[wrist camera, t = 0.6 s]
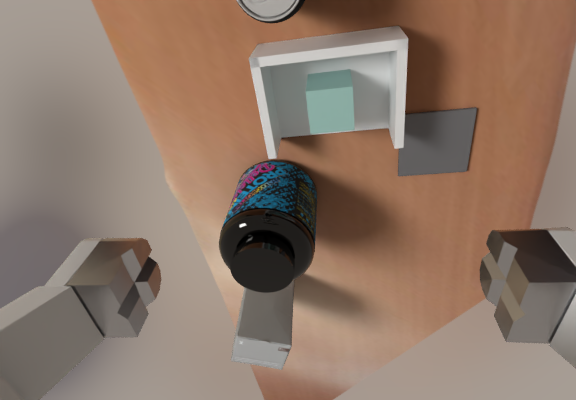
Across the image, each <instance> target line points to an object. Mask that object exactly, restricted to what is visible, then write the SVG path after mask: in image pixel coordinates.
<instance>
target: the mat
mask: <svg viewBox="0 0 576 400" xmlns="http://www.w3.org/2000/svg"><path fill="white" fill-rule="evenodd" d="M476 111H477V108H476V107H474V108H464V109H453V110H443V111H432V112H422V113H411V114H405V124H404V147H403V148H399V161H398V176H409V175H423V174H437V173H451V172H465V171H467V167H468V161H469V154H470V148H471V142H472V136H473V130H474V123H475V117H476Z"/></svg>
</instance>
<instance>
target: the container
mask: <svg viewBox="0 0 576 400" xmlns="http://www.w3.org/2000/svg"><path fill="white" fill-rule="evenodd" d="M316 209H317V191H316V187H315V184H314V182H313V181H312V179H311V178H310V176H309V175H308V174H307V173H306V172H305V171H304V170H302V169H301V168H299V167H298V166H296V165H294V164H291V163H289V162H285V161H279V160H270V161H264V162H260V163H258V164H255V165H253V166H252V167H250V168H249V169H247V170H246V171H245V172H244V173H243V175H242V176H241V178H240V180H239V182H238V185H237V188H236V191H235V194H234V196H233V199H232V202H231V205H230V208H229V210H228V213H227V216H226V219H225V222H224V224H223V227H222V230H221V233H220V239H219V250H220V253H221V256H222V258H223V260H224V262H225V264H226V265H227V266H228V268H229V269H230V270H231V274H232V276H233V277H234V279H235V280H236V281H237V282H238V283H239V284H240V285H242V286H243V287H245V288H247V289H250V290H252V291H256V292H262V293H271V292H277V291H280V290H282V289H284V288H286V287H287V286H288V285H289V284H290V283H291V282H292V281H294V280H295V279H297V278H299V277H300V276H301V275H303V274H304V273H305V271H306V270H307V269H308V268H309V267H310V265H311V263H312V260H313V256H314V252H315V233H316Z"/></svg>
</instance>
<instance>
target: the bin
mask: <svg viewBox="0 0 576 400" xmlns="http://www.w3.org/2000/svg"><path fill="white" fill-rule="evenodd" d="M407 56H408V37H407V36H406V35H405V33H404V32H403V31H402V29H401V28H400V27H399V26H392V27H385V28H377V29H370V30H362V31H354V32H347V33H339V34H332V35H324V36H316V37H309V38H301V39H294V40H286V41H278V42H271V43H263V44H258V45H257V46H256V48H255V49H254V51H253V53H252V54H251V56H250V57H249V62H250V67H251V72H252V77H253V82H254V87H255V92H256V97H257V102H258V108H259V113H260V118H261V123H262V128H263V133H264V138H265V143H266V148H267V153H268V158H269V159H274V158H277V154H278V150H279V145H280V141H281V138H283V137H294V136H305V135H316V134H310V125H309V117H308V108H307V100H306V85H307V78H308V74H313V73H322V72H330V71H339V70H348V69H350V72H351V78H352V84H353V102H354V127H355V130H350V131H360V130H371V129H382V128H388V129H389V132H390V135H391V139H392V142H393V145H394V148H395V149H396V148H403V147H404V124H405V101H406V78H407ZM339 132H349V131H339ZM328 133H338V132H328ZM317 134H327V133H317Z"/></svg>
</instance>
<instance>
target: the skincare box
mask: <svg viewBox="0 0 576 400" xmlns="http://www.w3.org/2000/svg"><path fill="white" fill-rule="evenodd" d="M293 296H294V281H292V282H291V283H290V284H289V285H288V286H287V287H286V288H284V289H282V290H280V291H277V292H271V293H262V292H256V291H252V290H250V289H247V288H244V292H243V297H242V303H241V308H240V313H239V318H238V323H237V328H236V333H235V338H234V345H233V350H232V357H231V361H235V362H241V363H247V364H253V365H258V366H264V367H270V368H276V369H281V370H282V368H283V366H284V364H285V361H286V359H287V356H288V354H289V351H290V349H291V346H292V317H293Z"/></svg>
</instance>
